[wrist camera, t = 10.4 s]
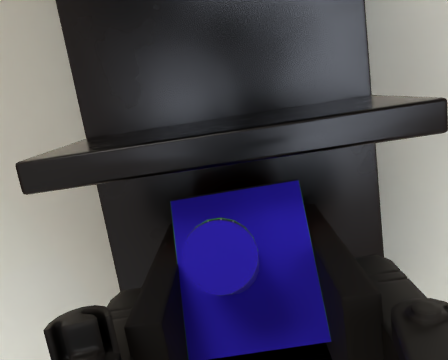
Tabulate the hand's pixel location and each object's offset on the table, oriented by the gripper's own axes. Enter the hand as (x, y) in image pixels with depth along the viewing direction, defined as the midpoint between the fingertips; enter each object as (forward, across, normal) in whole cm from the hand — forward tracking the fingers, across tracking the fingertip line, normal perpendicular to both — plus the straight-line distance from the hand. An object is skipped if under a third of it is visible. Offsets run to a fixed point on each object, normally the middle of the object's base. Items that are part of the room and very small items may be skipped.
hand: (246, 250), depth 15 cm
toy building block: (0, 0, 0) cm, 0 cm away
